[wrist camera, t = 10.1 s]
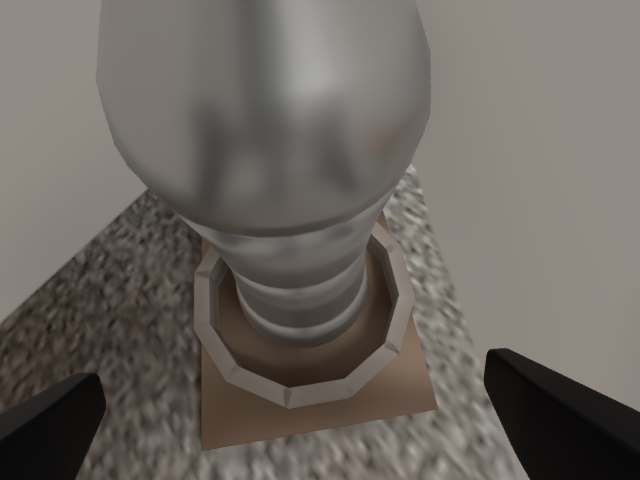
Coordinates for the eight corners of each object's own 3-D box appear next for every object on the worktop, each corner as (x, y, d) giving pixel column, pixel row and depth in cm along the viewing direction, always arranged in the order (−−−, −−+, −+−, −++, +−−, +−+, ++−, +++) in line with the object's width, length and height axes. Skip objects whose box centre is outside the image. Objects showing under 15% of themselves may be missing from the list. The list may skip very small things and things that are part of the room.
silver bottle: (372, 347, 19) (1126, -651, 1) (249, 364, 19) (-1286, -761, 1) (351, 243, 22) (488, -499, 4) (245, 256, 22) (-114, -506, 4)
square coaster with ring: (431, 409, 19) (451, 408, 16) (208, 449, 18) (187, 454, 15) (373, 197, 25) (381, 169, 22) (206, 218, 24) (191, 192, 21)
